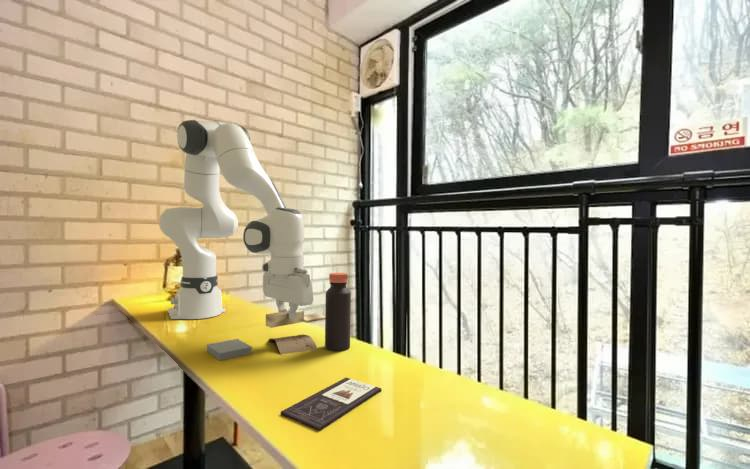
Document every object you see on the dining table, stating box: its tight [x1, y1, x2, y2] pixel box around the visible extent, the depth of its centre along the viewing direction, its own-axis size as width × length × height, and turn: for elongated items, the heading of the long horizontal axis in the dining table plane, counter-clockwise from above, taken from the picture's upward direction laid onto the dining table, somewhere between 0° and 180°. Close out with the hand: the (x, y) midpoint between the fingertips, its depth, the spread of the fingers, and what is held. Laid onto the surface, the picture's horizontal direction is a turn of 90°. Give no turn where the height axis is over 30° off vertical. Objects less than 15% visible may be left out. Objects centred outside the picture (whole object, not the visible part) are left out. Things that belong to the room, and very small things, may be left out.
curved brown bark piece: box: [267, 334, 318, 356], centre depth 101 cm, size 14×10×3 cm
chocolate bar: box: [280, 377, 382, 432], centre depth 68 cm, size 9×1×18 cm
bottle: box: [324, 272, 352, 352], centre depth 99 cm, size 7×7×20 cm
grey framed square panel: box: [206, 338, 253, 361], centre depth 94 cm, size 2×8×9 cm
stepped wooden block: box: [265, 308, 325, 329], centre depth 103 cm, size 17×6×3 cm, turn 134°
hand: (286, 317), depth 101 cm, fingers closed on stepped wooden block, 3 cm apart
